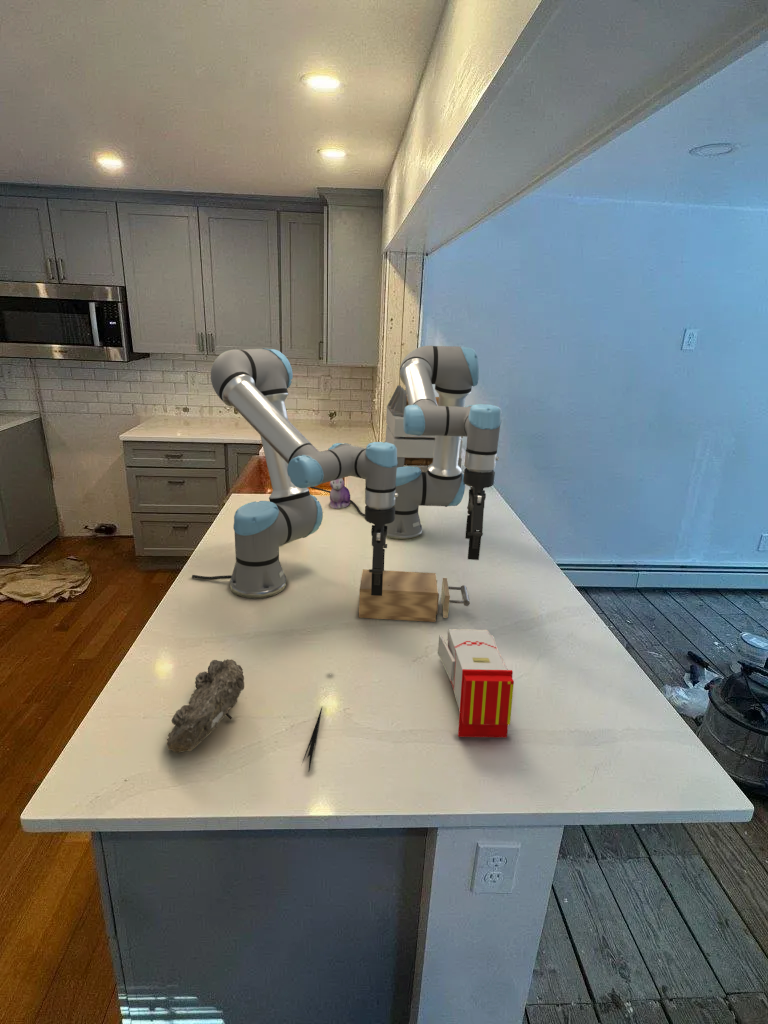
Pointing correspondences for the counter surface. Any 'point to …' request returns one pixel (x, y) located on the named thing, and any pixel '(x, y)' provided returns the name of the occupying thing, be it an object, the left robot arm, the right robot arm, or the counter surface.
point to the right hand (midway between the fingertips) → (471, 548)
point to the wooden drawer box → (400, 596)
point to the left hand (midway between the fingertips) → (377, 582)
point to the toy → (478, 682)
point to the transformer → (408, 435)
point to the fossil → (206, 705)
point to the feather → (313, 740)
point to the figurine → (339, 494)
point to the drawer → (446, 597)
